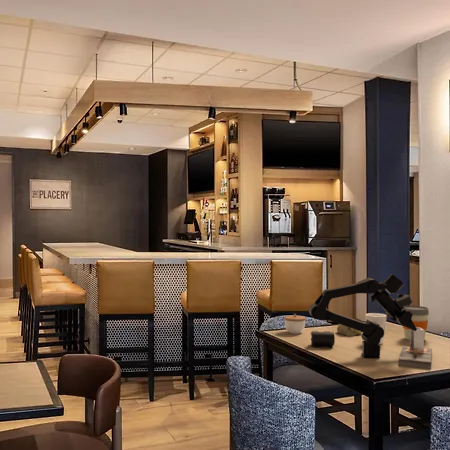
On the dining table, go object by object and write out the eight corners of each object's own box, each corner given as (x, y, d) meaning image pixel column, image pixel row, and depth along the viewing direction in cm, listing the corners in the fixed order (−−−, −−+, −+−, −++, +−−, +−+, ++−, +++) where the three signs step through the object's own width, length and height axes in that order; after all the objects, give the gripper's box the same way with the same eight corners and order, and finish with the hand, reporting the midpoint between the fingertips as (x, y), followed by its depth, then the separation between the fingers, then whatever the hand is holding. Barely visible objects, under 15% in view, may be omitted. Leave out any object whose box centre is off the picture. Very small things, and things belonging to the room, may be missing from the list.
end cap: (312, 348, 246) (312, 333, 246) (310, 344, 253) (310, 329, 253) (334, 348, 246) (334, 333, 246) (331, 344, 253) (331, 330, 253)
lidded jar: (288, 329, 286) (288, 311, 286) (308, 331, 282) (308, 313, 281) (281, 333, 276) (281, 314, 276) (301, 335, 272) (302, 316, 272)
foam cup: (361, 341, 260) (361, 313, 260) (377, 339, 264) (377, 312, 263) (374, 345, 251) (374, 317, 251) (390, 343, 255) (390, 315, 255)
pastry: (358, 337, 269) (358, 321, 269) (333, 334, 275) (333, 318, 275) (365, 332, 281) (365, 316, 281) (341, 329, 287) (342, 314, 287)
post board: (430, 368, 213) (431, 353, 213) (398, 365, 218) (398, 350, 218) (432, 354, 236) (432, 340, 236) (402, 351, 240) (402, 338, 240)
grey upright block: (414, 351, 230) (414, 329, 230) (409, 348, 235) (410, 327, 235) (423, 351, 230) (423, 329, 230) (419, 348, 235) (419, 327, 235)
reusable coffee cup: (414, 342, 258) (414, 310, 258) (395, 337, 270) (395, 306, 269) (434, 340, 263) (434, 308, 263) (415, 334, 275) (415, 305, 275)
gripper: (407, 291, 222) (434, 318, 223) (392, 285, 241) (417, 310, 241) (388, 310, 222) (415, 338, 223) (374, 303, 241) (399, 328, 241)
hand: (412, 328), depth 232 cm, fingers open, 9 cm apart
